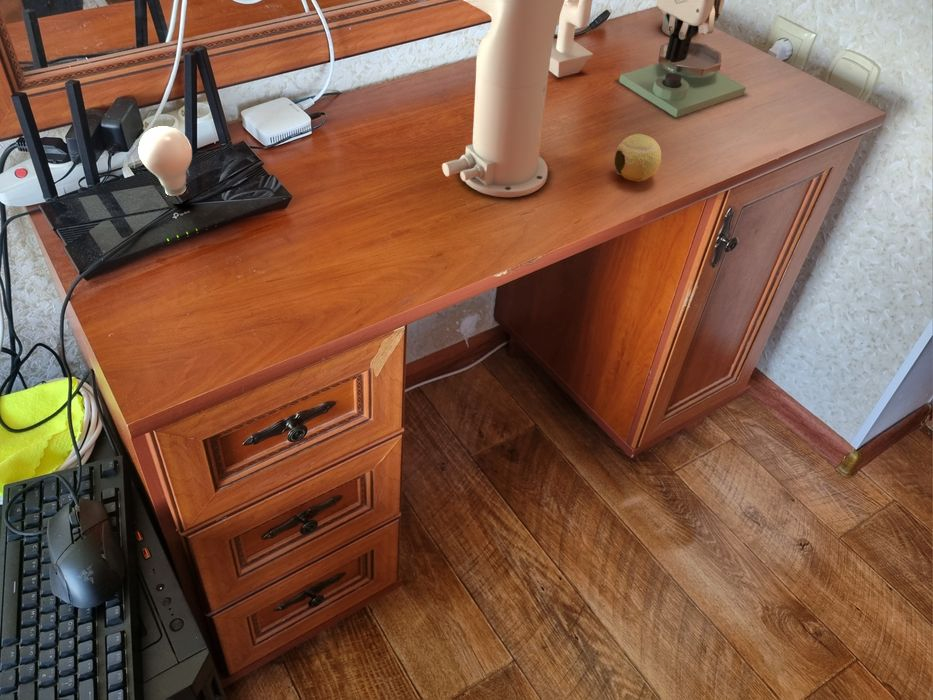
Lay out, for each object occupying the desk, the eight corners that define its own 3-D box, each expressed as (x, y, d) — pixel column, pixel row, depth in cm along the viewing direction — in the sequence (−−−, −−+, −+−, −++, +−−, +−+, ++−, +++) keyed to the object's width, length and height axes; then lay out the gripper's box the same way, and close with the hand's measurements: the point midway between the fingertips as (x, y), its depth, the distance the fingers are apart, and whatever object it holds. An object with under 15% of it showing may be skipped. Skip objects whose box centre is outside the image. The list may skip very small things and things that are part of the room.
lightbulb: (145, 201, 105) (123, 127, 98) (188, 184, 109) (170, 111, 101) (170, 222, 102) (149, 148, 95) (212, 204, 106) (196, 131, 98)
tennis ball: (647, 164, 117) (657, 124, 112) (663, 189, 112) (673, 148, 108) (606, 167, 116) (614, 126, 111) (620, 192, 112) (629, 151, 107)
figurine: (562, 54, 142) (574, -32, 131) (594, 76, 136) (608, -12, 126) (529, 62, 139) (538, -26, 128) (559, 85, 134) (571, -5, 123)
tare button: (671, 90, 128) (673, 81, 127) (660, 84, 130) (662, 75, 129) (682, 86, 129) (684, 78, 128) (671, 80, 131) (673, 71, 130)
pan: (688, 83, 130) (690, 72, 128) (646, 58, 135) (648, 48, 134) (730, 69, 134) (733, 59, 132) (688, 46, 140) (690, 36, 138)
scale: (675, 117, 127) (680, 100, 125) (619, 82, 135) (622, 65, 133) (743, 94, 134) (748, 78, 132) (685, 61, 142) (689, 45, 140)
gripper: (652, -77, 116) (626, 45, 129) (726, -44, 107) (691, 83, 120) (688, -82, 119) (660, 37, 132) (763, -51, 110) (725, 73, 123)
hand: (675, 59), depth 126 cm, fingers closed
